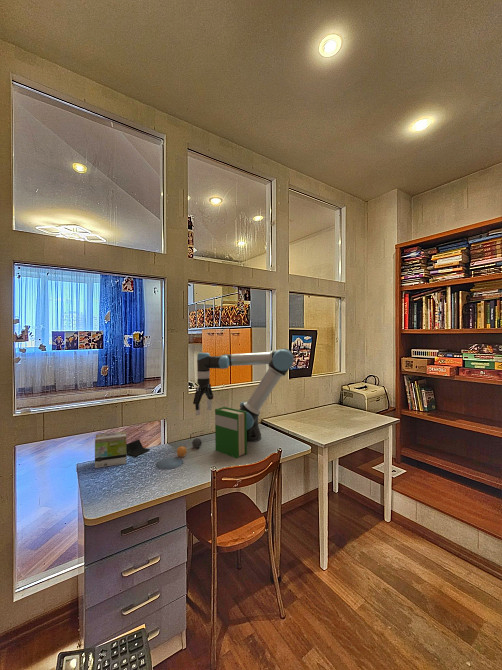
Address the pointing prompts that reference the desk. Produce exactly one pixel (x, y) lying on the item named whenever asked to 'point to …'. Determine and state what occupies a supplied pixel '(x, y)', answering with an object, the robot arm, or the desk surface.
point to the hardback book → (231, 431)
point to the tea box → (110, 449)
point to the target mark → (169, 463)
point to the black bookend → (135, 448)
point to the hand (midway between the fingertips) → (203, 412)
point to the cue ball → (196, 443)
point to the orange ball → (181, 451)
